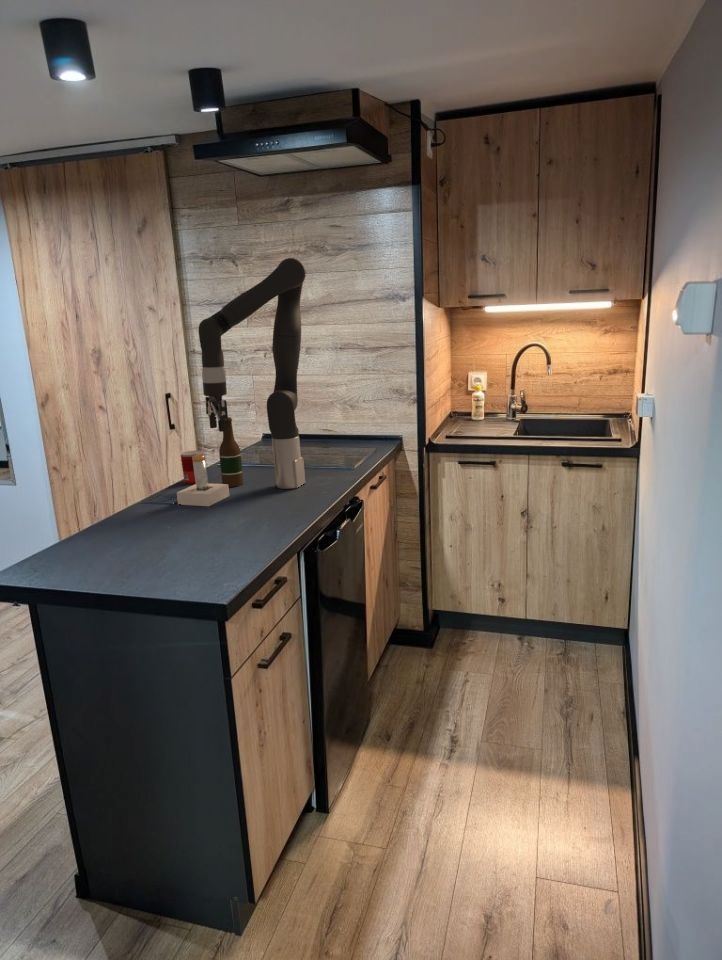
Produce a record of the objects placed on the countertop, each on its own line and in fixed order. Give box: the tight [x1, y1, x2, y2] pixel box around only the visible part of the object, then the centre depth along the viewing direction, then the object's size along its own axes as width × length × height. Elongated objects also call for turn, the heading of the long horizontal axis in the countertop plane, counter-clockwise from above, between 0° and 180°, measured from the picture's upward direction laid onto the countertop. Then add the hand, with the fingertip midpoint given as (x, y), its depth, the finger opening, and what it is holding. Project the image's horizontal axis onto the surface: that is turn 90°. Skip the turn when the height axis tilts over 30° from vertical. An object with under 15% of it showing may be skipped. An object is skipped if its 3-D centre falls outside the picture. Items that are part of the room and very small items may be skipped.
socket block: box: [176, 482, 230, 507], centre depth 223 cm, size 12×12×4 cm
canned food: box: [180, 450, 204, 485], centre depth 247 cm, size 8×8×11 cm
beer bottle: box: [218, 416, 244, 488], centre depth 238 cm, size 8×8×24 cm
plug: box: [192, 454, 209, 491], centre depth 221 cm, size 4×4×15 cm
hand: (217, 429), depth 225 cm, fingers open, 8 cm apart
